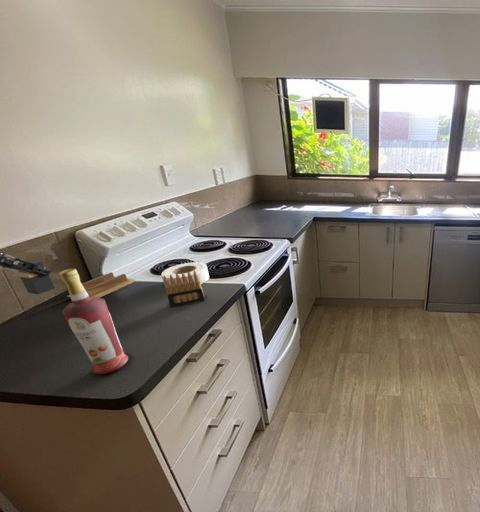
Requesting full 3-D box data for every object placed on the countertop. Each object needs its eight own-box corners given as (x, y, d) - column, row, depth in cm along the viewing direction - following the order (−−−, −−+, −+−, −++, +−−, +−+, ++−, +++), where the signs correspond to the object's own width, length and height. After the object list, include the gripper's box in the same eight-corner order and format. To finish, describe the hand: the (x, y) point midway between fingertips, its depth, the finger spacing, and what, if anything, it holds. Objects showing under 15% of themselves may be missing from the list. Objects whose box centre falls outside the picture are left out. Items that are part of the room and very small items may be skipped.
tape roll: (187, 271, 128) (183, 260, 126) (217, 274, 125) (215, 263, 123) (154, 288, 114) (150, 276, 112) (188, 292, 111) (184, 279, 109)
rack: (67, 298, 107) (63, 289, 105) (113, 279, 121) (109, 270, 120) (90, 301, 105) (86, 292, 103) (134, 281, 119) (131, 273, 118)
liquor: (137, 356, 79) (98, 263, 68) (119, 376, 72) (72, 277, 61) (107, 359, 78) (62, 265, 67) (86, 380, 71) (32, 279, 60)
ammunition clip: (205, 298, 107) (197, 269, 103) (205, 300, 106) (197, 271, 101) (171, 305, 103) (161, 275, 98) (170, 307, 101) (160, 277, 97)
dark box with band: (27, 292, 85) (13, 265, 82) (45, 286, 89) (32, 259, 85) (38, 294, 84) (23, 266, 81) (55, 288, 88) (42, 261, 84)
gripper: (-12, 238, 71) (68, 263, 86) (-51, 233, 74) (33, 259, 89) (-33, 266, 68) (53, 287, 84) (-73, 260, 71) (18, 282, 86)
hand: (42, 272), depth 86 cm, fingers closed on dark box with band, 4 cm apart
